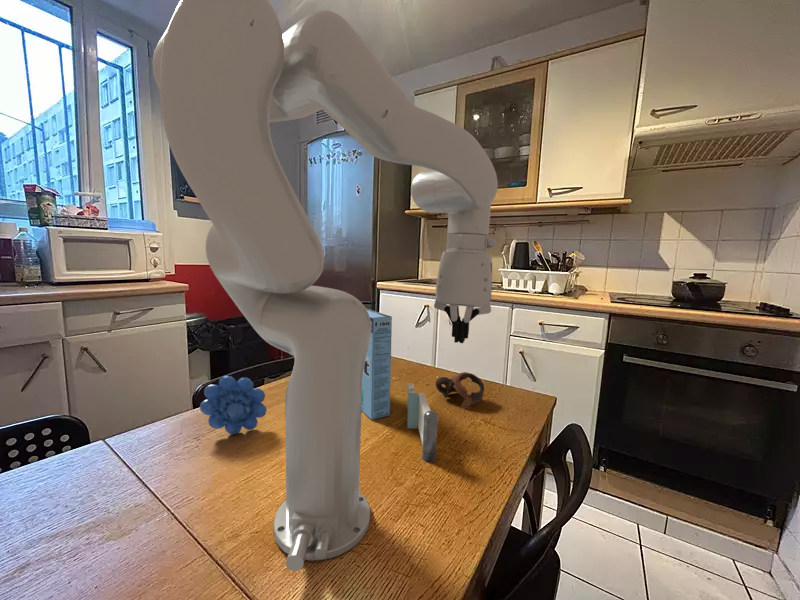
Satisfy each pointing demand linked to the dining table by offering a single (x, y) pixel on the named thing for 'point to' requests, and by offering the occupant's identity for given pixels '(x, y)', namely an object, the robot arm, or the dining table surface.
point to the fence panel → (410, 389)
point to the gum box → (377, 368)
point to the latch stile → (412, 410)
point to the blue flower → (233, 404)
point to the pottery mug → (461, 388)
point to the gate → (422, 413)
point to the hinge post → (429, 436)
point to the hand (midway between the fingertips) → (459, 341)
